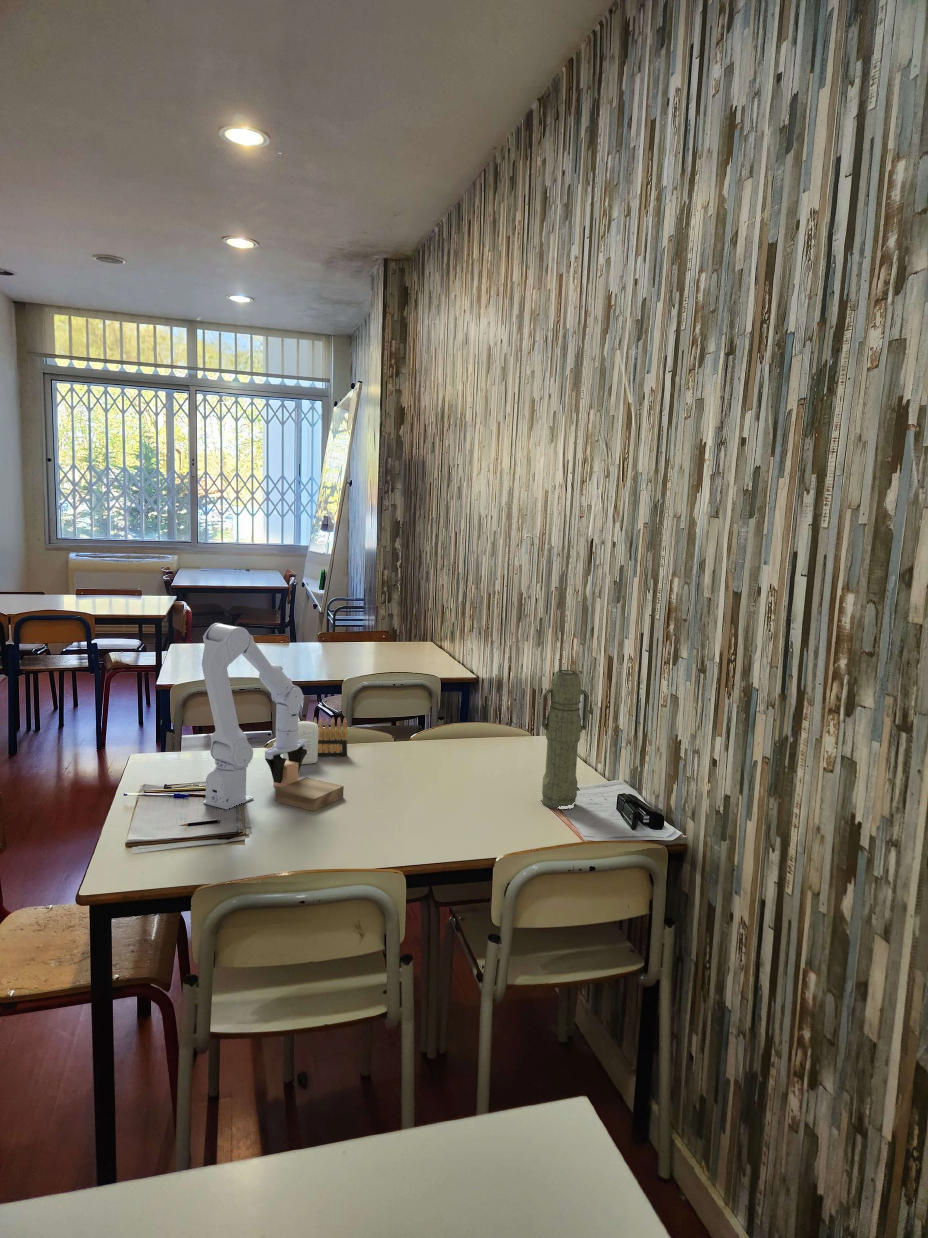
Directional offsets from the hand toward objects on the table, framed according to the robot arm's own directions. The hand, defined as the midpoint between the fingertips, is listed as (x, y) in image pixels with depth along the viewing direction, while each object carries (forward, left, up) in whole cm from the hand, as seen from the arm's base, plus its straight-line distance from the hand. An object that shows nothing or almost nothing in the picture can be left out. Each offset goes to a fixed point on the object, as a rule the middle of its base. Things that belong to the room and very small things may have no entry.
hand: (285, 779), depth 209 cm
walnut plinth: (-5, -12, -2) cm, 13 cm away
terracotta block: (0, 0, -2) cm, 2 cm away
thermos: (+29, -66, -2) cm, 72 cm away
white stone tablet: (+17, +9, -2) cm, 19 cm away
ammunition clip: (+28, +7, -2) cm, 29 cm away
